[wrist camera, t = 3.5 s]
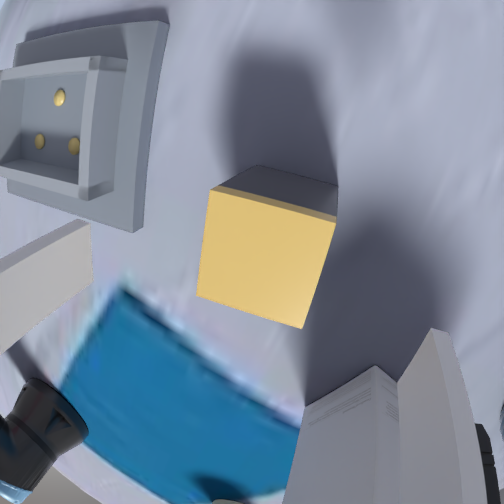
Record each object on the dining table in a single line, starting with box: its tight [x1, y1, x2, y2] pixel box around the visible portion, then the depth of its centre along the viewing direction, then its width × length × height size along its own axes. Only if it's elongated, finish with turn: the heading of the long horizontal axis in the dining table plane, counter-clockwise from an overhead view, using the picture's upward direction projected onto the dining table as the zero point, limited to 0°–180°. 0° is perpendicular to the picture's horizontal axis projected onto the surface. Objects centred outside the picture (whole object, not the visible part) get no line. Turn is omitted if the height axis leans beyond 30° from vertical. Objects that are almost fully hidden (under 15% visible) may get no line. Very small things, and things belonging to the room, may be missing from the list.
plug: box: [196, 165, 338, 329], centre depth 18 cm, size 6×6×8 cm
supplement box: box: [282, 365, 400, 504], centre depth 20 cm, size 9×9×15 cm
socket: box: [0, 20, 170, 233], centre depth 21 cm, size 16×18×4 cm
